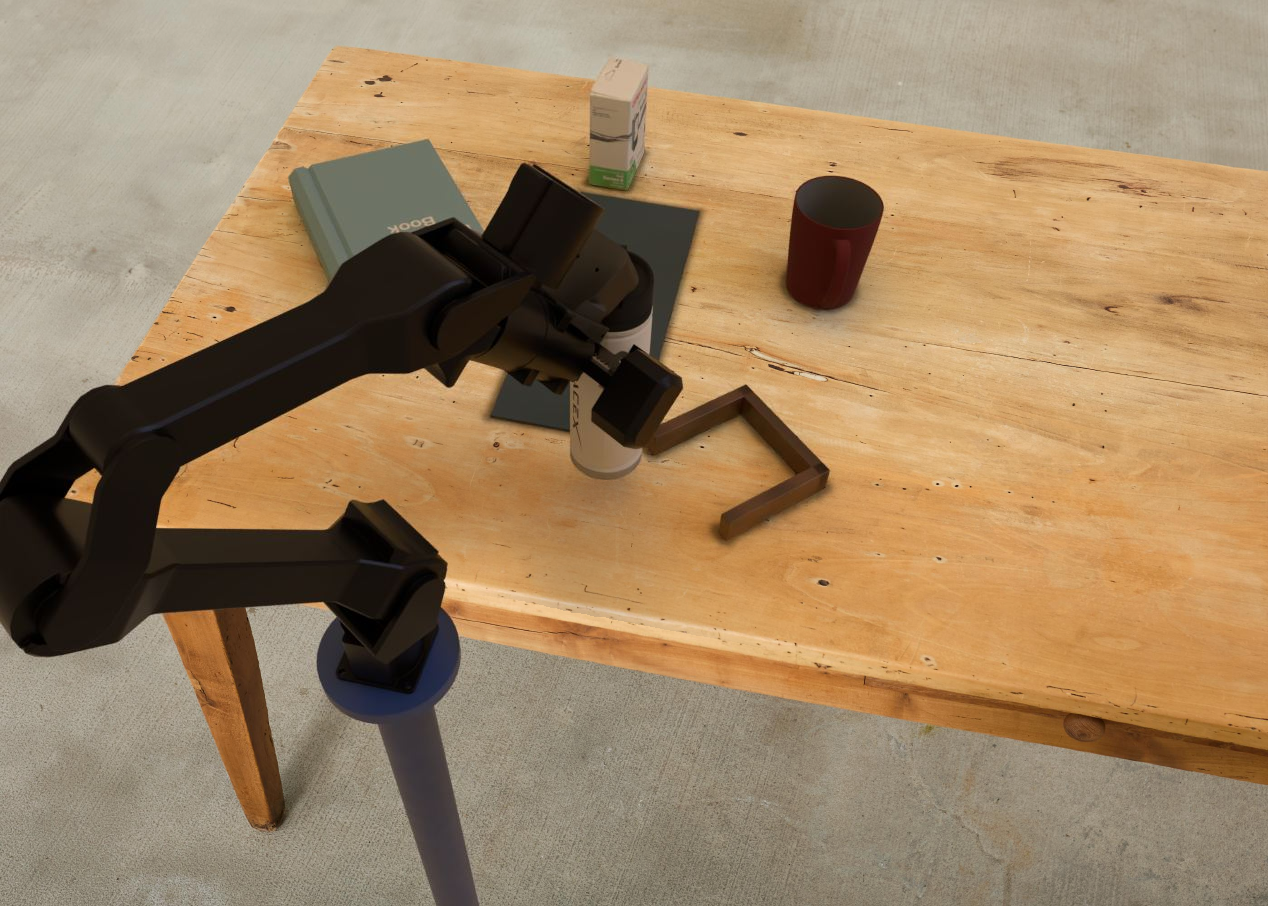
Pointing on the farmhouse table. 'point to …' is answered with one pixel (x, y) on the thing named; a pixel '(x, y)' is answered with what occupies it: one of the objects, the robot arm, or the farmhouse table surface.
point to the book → (375, 199)
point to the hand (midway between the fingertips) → (620, 367)
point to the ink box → (617, 123)
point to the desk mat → (665, 249)
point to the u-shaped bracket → (773, 431)
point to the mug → (830, 239)
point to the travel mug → (587, 440)
